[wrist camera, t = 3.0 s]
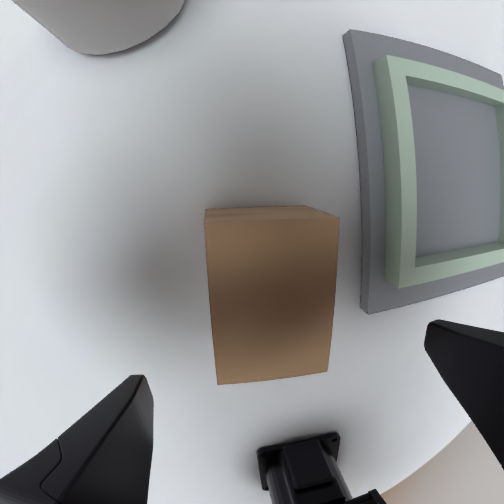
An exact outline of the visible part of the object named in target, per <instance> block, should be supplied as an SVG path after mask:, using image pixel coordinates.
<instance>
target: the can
mask: <svg viewBox="0 0 504 504" xmlns="http://www.w3.org/2000/svg"><path fill="white" fill-rule="evenodd" d="M12 1H13V2H14V3H15V4H17V5H18V6H19V7H20V8H21V9H23V10H24V11H25V12H26V13H28V14H29V15H30V16H31V17H32V18H34V19H35V20H36V21H37V22H38V23H40V24H41V25H42V26H43V27H44V28H46V29H47V30H48V31H49V32H50V33H52V34H53V35H54V36H55V37H56V38H58V39H59V40H60V41H61V42H62V43H63V44H65V45H66V46H67V47H68V48H71V49H73V50H75V51H77V52H79V53H82V54H95V55H104V54H108V53H113V52H118V51H123V50H126V49H128V48H130V47H132V46H135V45H137V44H139V43H142V42H144V41H146V40H148V39H149V38H150V37H152V36H153V35H155V34H156V33H158V32H159V31H160V30H162V29H163V28H165V27H166V26H167V25H168V24H169V22H170V21H171V20H172V19H173V18H174V17H175V16H176V15H177V14H178V13H179V12H180V10H181V8H182V6H183V4H184V2H185V0H12Z"/></svg>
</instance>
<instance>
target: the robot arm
mask: <svg viewBox="0 0 504 504" xmlns="http://www.w3.org/2000/svg"><path fill="white" fill-rule="evenodd" d="M424 347H425V350H426V352H427V354H428V355H429V357H430V358H431V360H432V362H433V363H434V365H435V367H436V368H437V370H438V372H439V374H440V375H441V377H442V379H443V380H444V382H445V383H446V385H447V386H448V387H449V389H450V390H451V392H452V393H453V394H454V396H455V397H456V398H457V400H458V401H459V403H460V404H461V405H462V407H463V408H464V410H465V411H466V413H467V414H468V415H469V417H470V418H471V420H472V421H473V423H474V424H475V426H476V427H477V429H478V430H479V432H480V433H481V434H482V436H483V437H484V439H485V440H486V442H487V444H488V445H489V447H490V448H491V450H492V451H493V453H494V454H495V456H496V458H497V459H498V461H499V463H500V464H501V465H502V468H503V470H504V332H499V331H494V330H489V329H484V328H479V327H474V326H469V325H464V324H459V323H454V322H449V321H444V320H435V321H432V322H430V323H429V324H428V326H427V331H426V336H425V341H424ZM153 407H154V402H153V396H152V393H151V390H150V388H149V385H148V382H147V379H146V377H145V376H144V375H131V376H129V377H128V378H127V379H126V380H124V381H123V382H122V383H121V384H120V385H119V386H118V387H116V388H115V389H114V390H113V391H112V392H111V393H109V394H108V395H107V396H106V397H105V398H104V399H102V400H101V401H100V402H99V403H98V404H97V405H95V406H94V407H93V408H92V409H91V410H90V411H88V412H87V413H86V414H85V415H84V416H82V417H81V418H80V419H79V420H78V421H77V422H75V423H74V424H73V425H72V426H71V427H70V428H68V429H67V430H66V431H65V432H64V433H62V434H61V435H60V436H59V437H58V439H55V440H54V441H53V442H52V443H50V444H49V445H48V446H47V447H46V448H44V449H43V450H42V451H40V452H39V453H38V454H37V455H35V456H34V457H32V458H31V459H30V460H28V461H27V462H25V463H24V464H22V465H21V466H19V467H18V468H16V469H15V470H13V471H12V472H10V473H9V474H7V475H6V476H4V477H3V478H1V479H0V504H147V499H148V488H149V478H150V469H151V460H152V452H153ZM339 444H340V436H339V434H338V433H331V434H327V435H323V436H319V437H315V438H311V439H307V440H303V441H298V442H293V443H289V444H284V445H278V446H273V447H267V448H262V449H259V450H258V451H257V458H258V464H259V471H260V478H261V484H262V489H263V490H265V491H267V490H269V492H270V496H271V501H272V504H386V502H385V501H384V500H383V498H382V497H381V496H380V494H379V493H378V492H377V490H376V489H373V490H371V491H368V493H366V494H364V495H361V496H359V497H356V498H352V496H351V494H350V492H349V489H348V487H347V485H346V483H345V481H344V479H343V476H342V474H341V472H340V470H339V468H338V465H337V463H336V461H337V455H338V450H339Z"/></svg>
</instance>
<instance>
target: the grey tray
mask: <svg viewBox="0 0 504 504" xmlns="http://www.w3.org/2000/svg"><path fill="white" fill-rule="evenodd" d="M343 40H344V45H345V51H346V56H347V62H348V68H349V75H350V81H351V88H352V96H353V103H354V112H355V121H356V130H357V141H358V153H359V167H360V184H361V209H362V278H361V303H360V308H361V309H362V310H363V311H364V312H365V313H366V314H368V315H369V314H373V313H377V312H382V311H386V310H390V309H394V308H398V307H402V306H406V305H410V304H414V303H417V302H421V301H425V300H429V299H432V298H436V297H439V296H443V295H446V294H450V293H453V292H456V291H460V290H463V289H466V288H470V287H473V286H476V285H479V284H482V283H485V282H488V281H491V280H494V279H497V278H500V277H503V276H504V86H503V81H502V76H501V75H500V74H498V73H496V72H494V71H492V70H489V69H487V68H485V67H482V66H480V65H478V64H475V63H473V62H470V61H468V60H465V59H462V58H460V57H457V56H454V55H451V54H448V53H446V52H443V51H440V50H436V49H433V48H430V47H427V46H423V45H420V44H416V43H413V42H409V41H405V40H401V39H397V38H393V37H388V36H384V35H379V34H374V33H369V32H363V31H357V30H351V29H350V30H349V31H347V32H346V33H345V34H344V35H343Z"/></svg>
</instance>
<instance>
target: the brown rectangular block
mask: <svg viewBox="0 0 504 504" xmlns="http://www.w3.org/2000/svg"><path fill="white" fill-rule="evenodd" d="M204 224H205V242H206V259H207V274H208V287H209V300H210V313H211V324H212V335H213V346H214V356H215V366H216V375H217V384H218V385H223V384H236V383H247V382H257V381H266V380H274V379H282V378H289V377H296V376H303V375H309V374H315V373H321V372H327V370H328V362H329V354H330V345H331V336H332V326H333V315H334V304H335V291H336V276H337V259H338V236H339V218H338V217H336V216H333V215H330V214H327V213H324V212H321V211H319V210H316V209H313V208H310V207H307V206H273V207H245V208H222V209H205V222H204Z"/></svg>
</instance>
